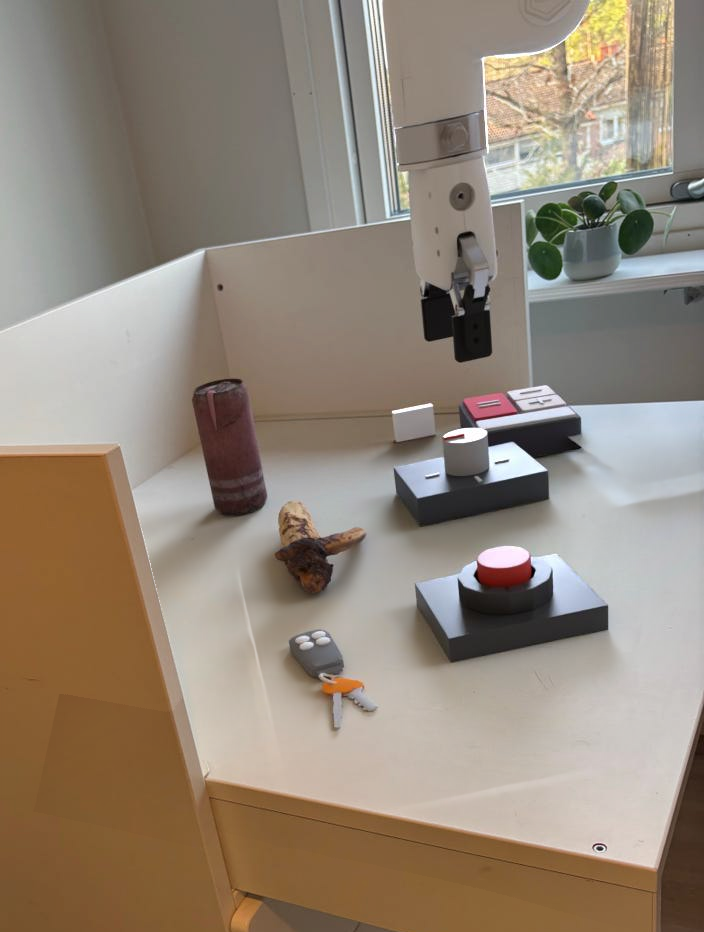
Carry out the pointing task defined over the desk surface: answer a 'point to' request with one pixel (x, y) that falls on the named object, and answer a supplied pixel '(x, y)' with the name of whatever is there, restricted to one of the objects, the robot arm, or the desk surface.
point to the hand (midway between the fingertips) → (456, 348)
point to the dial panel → (471, 486)
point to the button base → (510, 609)
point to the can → (230, 446)
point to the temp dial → (466, 451)
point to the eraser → (413, 422)
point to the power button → (504, 566)
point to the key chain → (328, 669)
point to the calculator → (524, 420)
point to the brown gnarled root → (310, 547)
